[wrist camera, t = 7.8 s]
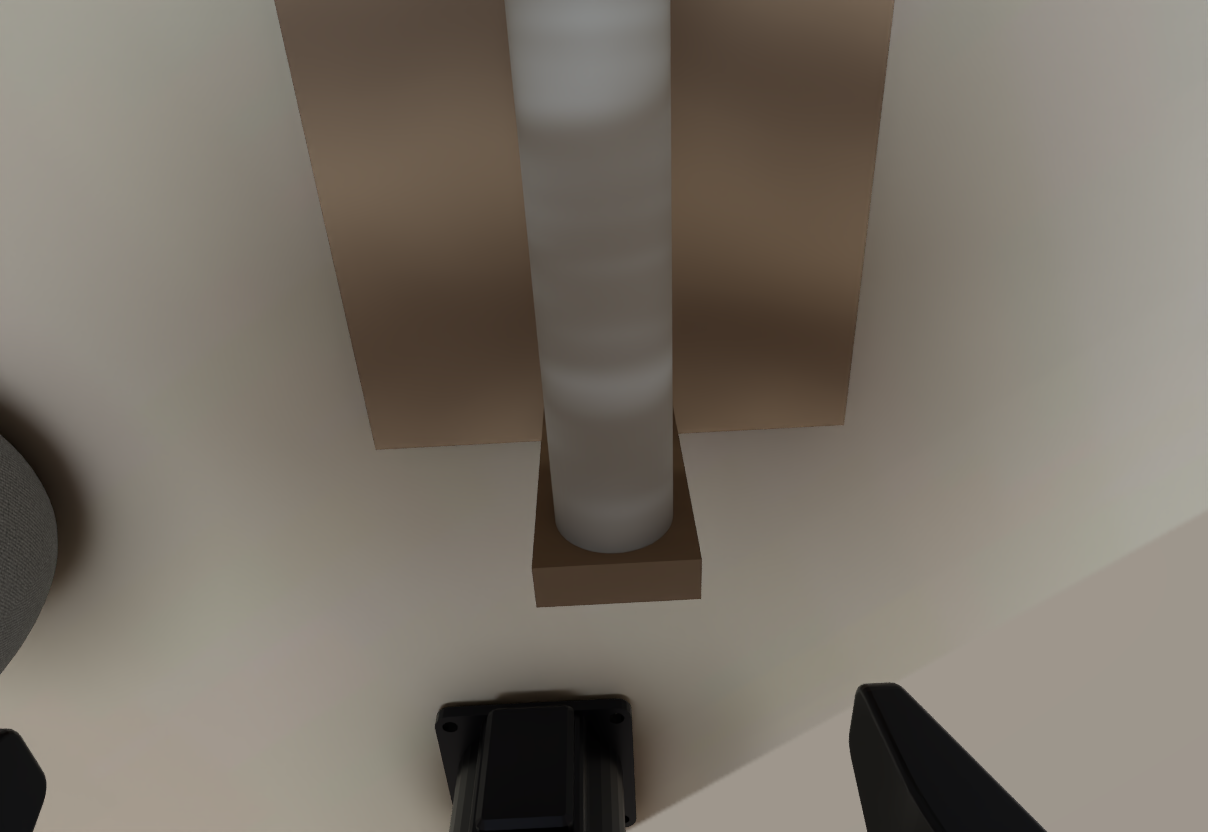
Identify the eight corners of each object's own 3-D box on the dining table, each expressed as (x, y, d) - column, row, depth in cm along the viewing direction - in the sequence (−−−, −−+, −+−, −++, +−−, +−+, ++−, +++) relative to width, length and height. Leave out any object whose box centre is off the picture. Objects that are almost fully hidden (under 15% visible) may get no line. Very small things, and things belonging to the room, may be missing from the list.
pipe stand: (833, 405, 22) (927, 587, 16) (383, 429, 22) (311, 618, 16) (944, -599, 13) (1262, -1050, 7) (170, -555, 13) (-185, -961, 7)
